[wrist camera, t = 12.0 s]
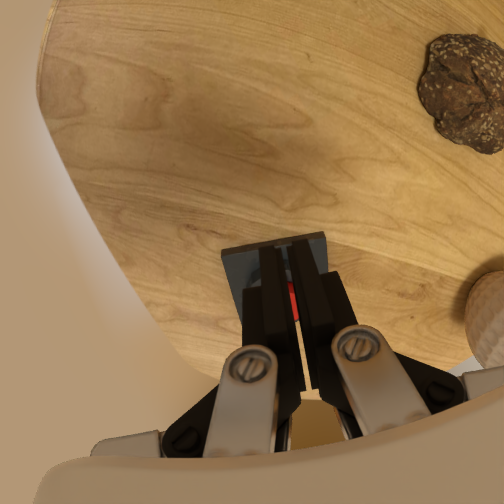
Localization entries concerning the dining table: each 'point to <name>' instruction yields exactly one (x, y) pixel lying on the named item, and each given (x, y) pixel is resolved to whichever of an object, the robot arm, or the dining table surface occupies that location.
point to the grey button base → (248, 268)
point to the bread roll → (466, 91)
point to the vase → (486, 319)
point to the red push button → (293, 300)
